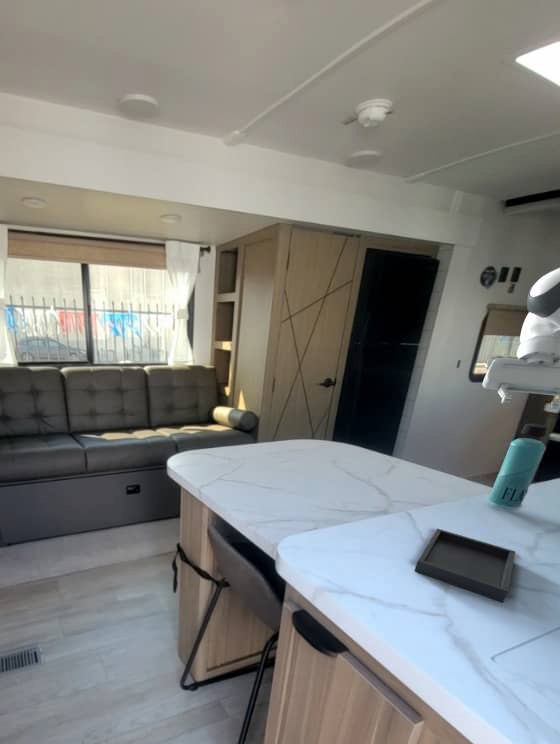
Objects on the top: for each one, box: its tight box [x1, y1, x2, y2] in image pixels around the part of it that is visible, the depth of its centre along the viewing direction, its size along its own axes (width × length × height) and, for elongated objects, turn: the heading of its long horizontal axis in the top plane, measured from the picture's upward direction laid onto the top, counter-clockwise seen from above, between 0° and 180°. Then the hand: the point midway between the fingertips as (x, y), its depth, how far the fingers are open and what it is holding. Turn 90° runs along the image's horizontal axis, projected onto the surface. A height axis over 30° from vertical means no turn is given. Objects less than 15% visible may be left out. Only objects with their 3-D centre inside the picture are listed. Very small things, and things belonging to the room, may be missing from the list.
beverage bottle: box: [488, 423, 548, 509], centre depth 92 cm, size 6×7×20 cm
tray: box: [414, 528, 516, 603], centre depth 72 cm, size 17×13×2 cm
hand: (530, 405), depth 96 cm, fingers open, 8 cm apart
